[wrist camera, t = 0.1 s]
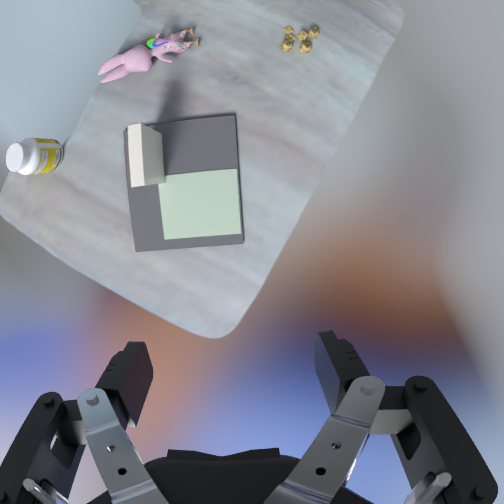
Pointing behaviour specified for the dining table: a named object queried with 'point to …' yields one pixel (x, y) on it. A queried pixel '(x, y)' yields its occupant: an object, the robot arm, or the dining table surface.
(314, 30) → the yellow speckled pebbles
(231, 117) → the mat
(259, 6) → the dining table surface
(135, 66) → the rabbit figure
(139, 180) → the tile
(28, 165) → the supplement bottle
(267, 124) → the dining table surface
